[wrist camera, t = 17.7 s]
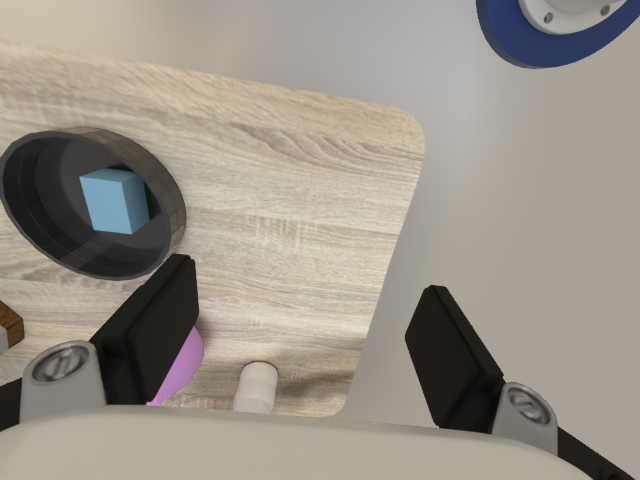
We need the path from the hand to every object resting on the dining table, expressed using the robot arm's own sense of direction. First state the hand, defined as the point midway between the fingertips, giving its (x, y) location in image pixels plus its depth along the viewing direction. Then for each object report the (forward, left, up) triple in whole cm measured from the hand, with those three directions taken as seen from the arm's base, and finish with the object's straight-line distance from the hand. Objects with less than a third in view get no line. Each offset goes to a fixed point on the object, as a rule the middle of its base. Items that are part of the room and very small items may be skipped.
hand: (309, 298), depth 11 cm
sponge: (+13, -20, -26) cm, 35 cm away
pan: (+16, -23, -26) cm, 38 cm away
